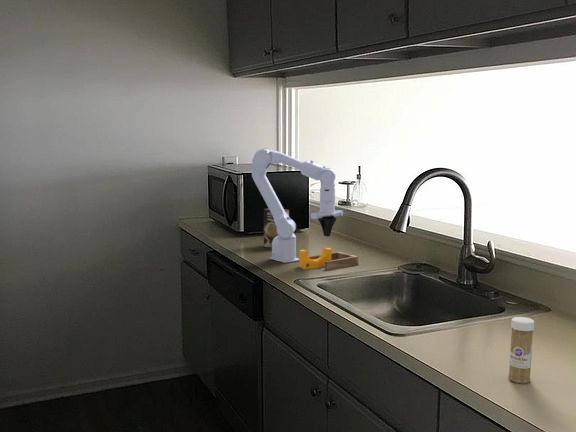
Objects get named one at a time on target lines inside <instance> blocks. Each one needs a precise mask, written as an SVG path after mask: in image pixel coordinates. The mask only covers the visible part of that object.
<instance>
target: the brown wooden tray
mask: <svg viewBox="0 0 576 432" xmlns="http://www.w3.org/2000/svg"><path fill="white" fill-rule="evenodd" d="M321 255H322V253H321V254H314V255H310V256H309V255H308V257H309V258H310V259H312V260H314V259H317V258H319V257H320V256H321ZM357 265H359V256H357V255H353V254H350V253H345V252H341V251H333V252H331V261H325V266H324V270H325V271H330V270H335V269H341V268H347V267H353V266H357Z"/></svg>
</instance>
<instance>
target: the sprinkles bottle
mask: <svg viewBox="0 0 576 432" xmlns="http://www.w3.org/2000/svg"><path fill="white" fill-rule="evenodd" d="M510 324H511V325H510V326H511V337H510V338H511V339H510V350H509V369H508V379H509V380H510V381H511V382H513V383H515V384H516V383H517V384H527V383H530V382H531V370H532V369H531V367H532V354H533V334H534V329H535V320H533V319H532V318H530V317H525V316H515V317H512V318H511V323H510Z"/></svg>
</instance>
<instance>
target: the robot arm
mask: <svg viewBox="0 0 576 432" xmlns="http://www.w3.org/2000/svg"><path fill="white" fill-rule="evenodd" d="M251 162H252V165H251V166H252V168H251V177H252V180H253V181H254V184H255V186H256V187H257V189H258V191H259V193H260V195H261V196H262V198H263V200H264V202H265V204H266V206H267V209H268V208H269V210H270V212H271V213H272V215H273V217H274V221H275V224H276V226H277V233H278V236H276V237H275V238H274V239H273V241H272V247H271V257H270V259H269V260H274V261H276V262H280V263H286V264H287V263H291V262H297V261H298V262H299V257H297V236H296V234H295V232H296V229H297V224H296V222H295V221H294V220H293V219H292V218H290V215H289V216H288V214H287V213H286V212H285V211H284V206H283V205H282V203H281V201H280V199H279V198H278V196H277V194H276V191H275V190H274V188H273V186H272V184H271V183H270V180H269V179H268V177H267V172H268V170H269V167H270V165H271V164H272V165H273V164H279V163H280V164H282V165H286V166H288V167H291V168H293V169H297V170H299V171H300V173H301V175H303V176H305V177H308V178H310V179H312V180H314V181H319V182H320V189H319V211H317V212H311V213H310V219H311V220H318V221H319V223H320V226H321V229H322V233H323V237H330V236H331V233H332V230H333V226H334V224H335V222H336V221H337V217H339V216H341V217H342V216H344V210H340V209H339V210H338V209H337V210H336V188H335V187H336V184H335V183H336V182H335V180H336V173H335V171H334V170H333V169H332V168H330V167H327V166H325V165H320V164H317V163H315V161H314V160H312V159H311V160H305V161H301V160H299V159H297V158H295V157H292V156H291V155H288V154H286V153H284V152H281V151H278V150H275V149H274V150H273V149H271V148H267V147H264V148H262V149H259V150H257V151H256V152H255V153H254V155H253V157H252V161H251Z"/></svg>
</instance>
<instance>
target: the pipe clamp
mask: <svg viewBox="0 0 576 432" xmlns="http://www.w3.org/2000/svg"><path fill="white" fill-rule="evenodd" d="M298 251H299V252H298V254H299V255H298V258H299V261H298V262H299V263H298V267H299V268H301V269H302V270H309V269H311V270H312V269H320V268H321V267H325V261H331V253H332V251H333V250H332V248H330V247H323V252H322V253H321V254H322V255H321V254H320V255H321V256H320V257H319V258H317V259H314V260H312V259H310V258H309V255H308V251H307V250H306V249H299V250H298Z"/></svg>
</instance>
